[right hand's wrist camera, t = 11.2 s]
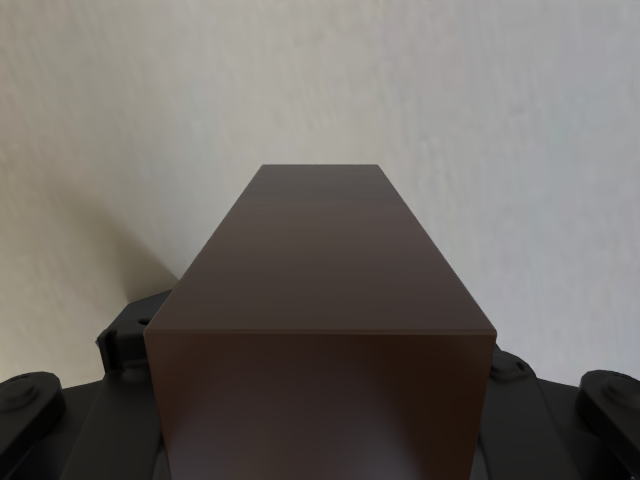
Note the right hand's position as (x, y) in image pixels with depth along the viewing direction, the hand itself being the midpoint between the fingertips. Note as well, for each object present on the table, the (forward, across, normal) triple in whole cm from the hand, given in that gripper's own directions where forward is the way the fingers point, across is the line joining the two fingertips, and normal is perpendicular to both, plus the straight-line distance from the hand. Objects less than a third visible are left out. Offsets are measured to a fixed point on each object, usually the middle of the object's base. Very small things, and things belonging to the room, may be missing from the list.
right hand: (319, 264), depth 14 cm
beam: (+1, 0, -8) cm, 9 cm away
